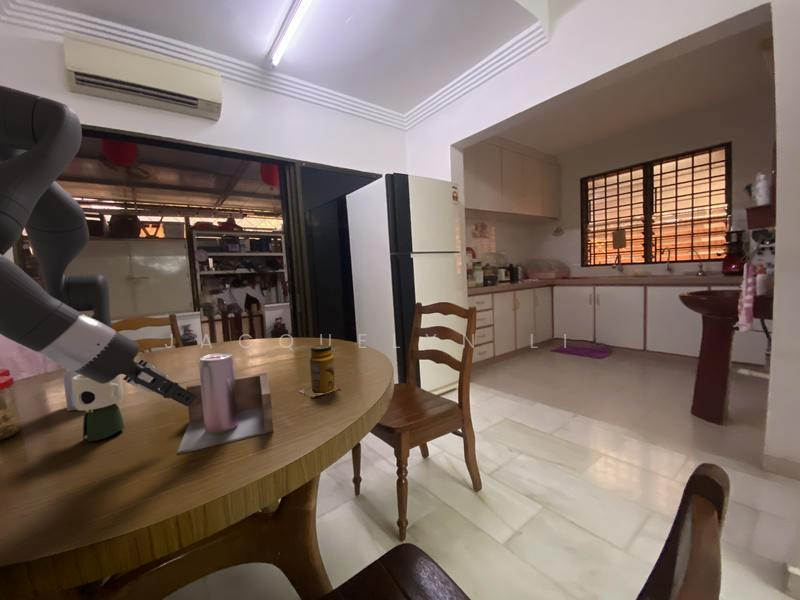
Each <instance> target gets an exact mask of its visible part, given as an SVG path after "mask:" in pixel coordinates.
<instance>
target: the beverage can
mask: <svg viewBox="0 0 800 600" xmlns="http://www.w3.org/2000/svg"><path fill="white" fill-rule="evenodd" d="M198 370H199V371H198V372H199V378H200V379H199V380H200V383H201V392H202V403H203V414H204V424H205V431H206V432H207V433H209V434H212V435H217V434H223V433H226V432H229V431H231V430H233V429H234V428H235V427H236V426H237V424H238V412H237V400H236V388H235V378H236V376H235V367H234V358H233V357H232V354H231V353H228V352H223V353H222V352H220V353H212V354H207V355H204V356H202V357H200V358H199V363H198Z"/></svg>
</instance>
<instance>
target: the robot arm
mask: <svg viewBox="0 0 800 600" xmlns="http://www.w3.org/2000/svg"><path fill="white" fill-rule="evenodd" d="M82 135H83V132H82V124H81V121H80V118H79V116H78V114H77V113H76V112H75V110H74V109H73V108H72V107H70V106H69V105H67V104H65V103H62V102H59V101H58V100H57V101H56V100H54V99H50V98H47V97H44V96H40V95H37V94H33V93H29V92H25V91H22V90H18V89H15V88H11V87H8V86H3V85H0V335H1V336H3V337H5V338H7V340H8V339H9V340H11V341H12V342H15V343H16V344H19V345H21V346H23V347H24V348H25V347H26V348H28V350H29V349H30V350H31V351H33V352H36V353H39V354H40V355H43V357H44V358H47V359H48V360H50V361H51V362H53V363H55V364H57V365H60V366H61V367H64V368H65V369H66V371H64V372H63V373H62V379H63V387H64V393H65V395H64V396H65V404H66V410H67V411H68V412H69V411H78V410H77V408H76V407H75V402H76V396H75V393H74V391H73V384H72V378H73V377H75V376H77V375H80V374H81V375H83V376H85V377H87V378H89V379H92V380H94V381H96V382H98V383H101V384H105V383H108V382H110V381H112V380H113V379H115V378H116V376H118V375H120V374H121V375H124V377H123V378H122V380H123V381H124V382H126V383H127V384H129V385H131V386H134V387H136V388H137V387H139V388H141V389H143V390H144V391H147V392H148V393H150V394H158V395H160V396H162V398H164V399H171V400H174V401H176V402H177V403H180V404H181V405H183V406H185V407H188V406H190V405H191V404H192V402H193V401H194V400H195V398H196V395H195V394H193V393H191V392H190V391H188V390H186V388H184V387H182V386H181V385H180V384H179V383H178V382H176V381H175V382H174V381H172V380H170V377H169V375H168V374H166V373H164V372H163V371H161V370H158V369H157V368H156V367H155V366H154V365H153V364H151V363H149V362H148V361H145V360H144V359H140V360H139V361H138V362H137V361H135V358H136V357H137V356H138V354H139V353H140V350H141V346H140V344H139V343H138V342H137V341H134V340H132V339H131V338H129V337H127V336H125V335H124V334H123V333H120V332H119V331H117V330H115V329H114V328H113V327H112V320H111V319H112V318H111V308H110V303H111V302H110V287H109V283H108V280H107V278H106V277H105V276H104V275H102V274H65V271H66V269H67V268H68V266H69V265H70V264H71V263H72V261H73V260H74V259H76V258H77V256H78V255H80V253H82V251H84V249H85V247H86V246H87V244H88V242H89V241H90V233H89V232H90V231H89V226H88V223H87V217H86V214H85V211H84V209H83V208H82V206H81V205H80V204H79V203H78V201H76V199H75V198H74V197H73V196H72V195H71V194H70V193H69V192H68V191H66V189H64V188H63V187H62V186H61V185H60V184H59V183H57V181H56V180H57V179H58V178H59V177H60V175H62V173H63V172H64V171H65V170H66V168H67V167H68V166H69V164H70V163H72V161H73V160H74V158H75V157H76V155H77V154H78V152H79V150H80V147H81V144H82V140H83V139H82V138H83V136H82ZM24 231H25V232H26V233H25V234H26V235H27V238H28V240H29V243H30V244H31V247H32V249H33V252H34V254H35V257H36V259H37V262H38V266H39V268H40V274H41V277H42V281H43V282H42V283H43V285H44V288H43V287H42V286H41V285H40V284H39V283H38V282H36V280H34V279H33V277H31V276H30V275H28V273H26V272H25V271H24V270H23V269H22V268H21V267H19V266H18V265H17V264H16V263H15V262H13V261H12V260H11V259H9V258H7V257H6V256H5V254H6V253H7V252H8V251H9V250H10V249H12V247H14V246H15V244H16V243H17V242H18V241H19V239H20V237H21V236H22V233H23V232H24ZM81 312H93V314H92V316H91V317H90V316H88V315H85V314H83V313H81Z"/></svg>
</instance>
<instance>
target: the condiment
mask: <svg viewBox="0 0 800 600" xmlns="http://www.w3.org/2000/svg"><path fill="white" fill-rule="evenodd" d="M332 352H333V351H332V347H331V345H329V344H317V345H313V346H311V348H310V359H309V364H310V381H311V383H310V384H311V386H310V387H309V388H306V389H301V390H299V392H300V393H301V394H303V395H304V392H306V391H307V390H308V389H311V388H312V391H313V392H314V393H326V392H329V391H331V390H333V389H334V387H336V386H335V385H336V384H335V383H336V382H335V370H334V369H335V368H334V366H335V365H334V356H333V354H332Z"/></svg>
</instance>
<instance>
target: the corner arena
mask: <svg viewBox="0 0 800 600" xmlns="http://www.w3.org/2000/svg"><path fill="white" fill-rule="evenodd" d="M269 385H270V384H269V380H268V375H267V372H263V373H257V374H251V375H250V374H249V375H244V376H238V377H235V388H236V400H237V412H238V424H237V426H236V427H235V428H234V429H233V430H231V431H229V432H226V433H223V434H217V435H212V434H209V433H207V432H206V431H205V424H204V414H203V403H202V392H201V382H200V383H194V384H193V383H192V384H188V385H186V387H185V389H186V390H188V391H190V392H191V393H193V394H195V395H196V398H195V400H194V401H193V402H192V404H191V405H190V406H187V407H188V408H187V409H188V410H187V411H188V417H189V418H188V420H189V422H188V423H187V427H186V429H185V432H184V434H183V437H182V440H181V442H180V445H179V447H178V449H177V455H181V454H184V453H188V452H193V451H197V450H203V449H206V448H210V447H215V446H218V445H223V444H227V443H231V442H237V441H241V440H246V439H248V438H249V439H250V438H254V437H258V436H261V435H266V434H271V433H274V424H273V423H274V422H273V410H272V399H271V398H272V397H271V396H272V395H271V389H270V386H269Z"/></svg>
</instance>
